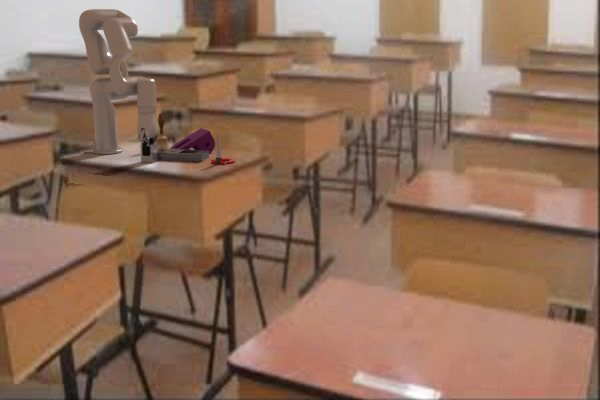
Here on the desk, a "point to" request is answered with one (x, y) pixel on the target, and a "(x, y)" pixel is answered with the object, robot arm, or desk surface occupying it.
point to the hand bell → (162, 135)
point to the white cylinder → (152, 156)
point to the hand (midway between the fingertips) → (148, 154)
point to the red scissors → (218, 158)
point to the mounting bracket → (197, 141)
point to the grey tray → (182, 155)
